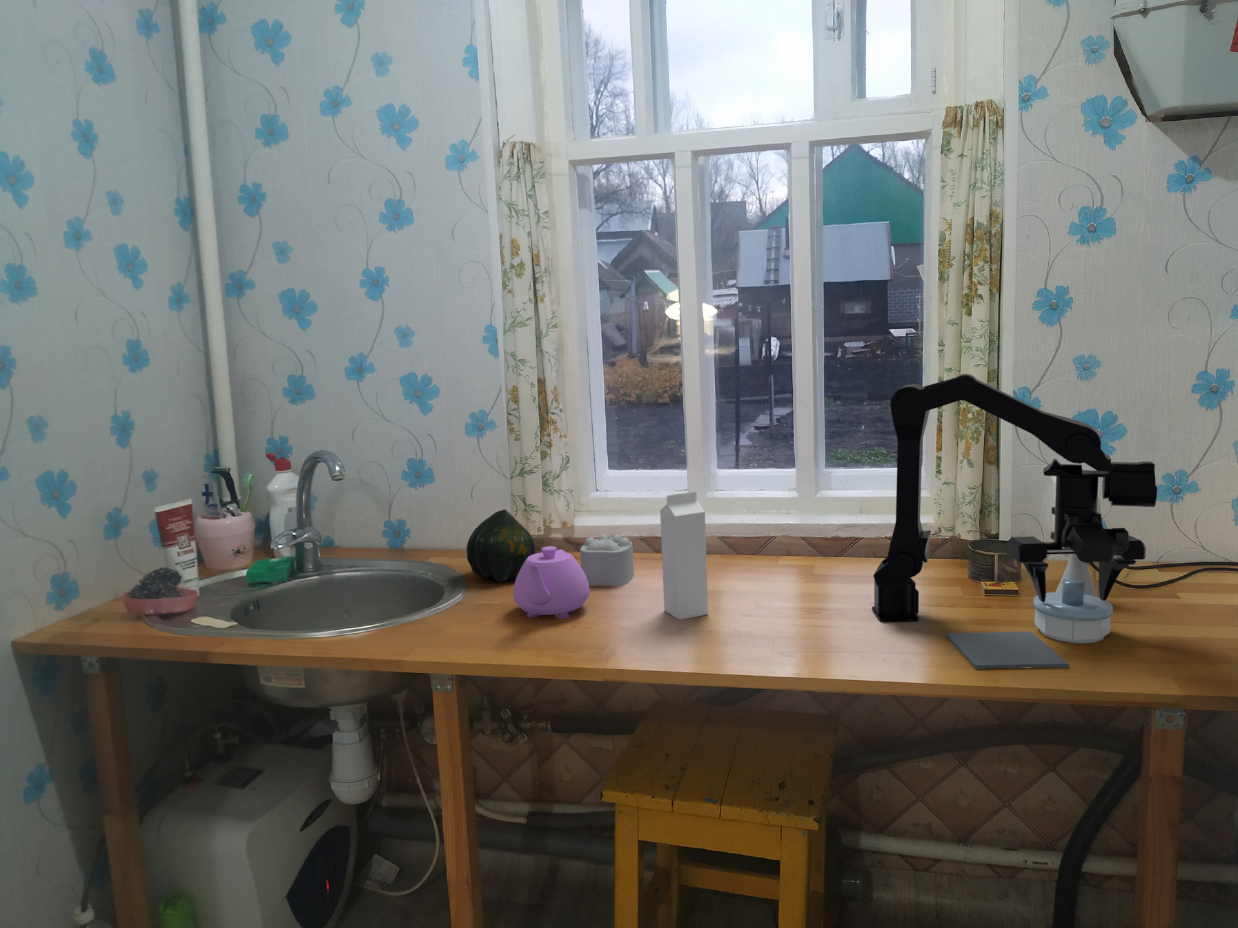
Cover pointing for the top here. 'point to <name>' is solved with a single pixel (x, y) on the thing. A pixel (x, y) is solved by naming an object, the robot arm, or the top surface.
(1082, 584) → the lid
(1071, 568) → the flask
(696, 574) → the milk
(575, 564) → the teapot
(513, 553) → the squash
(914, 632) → the top surface
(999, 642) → the plate
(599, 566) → the grey lumpy-topped tub
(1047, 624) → the bowl
